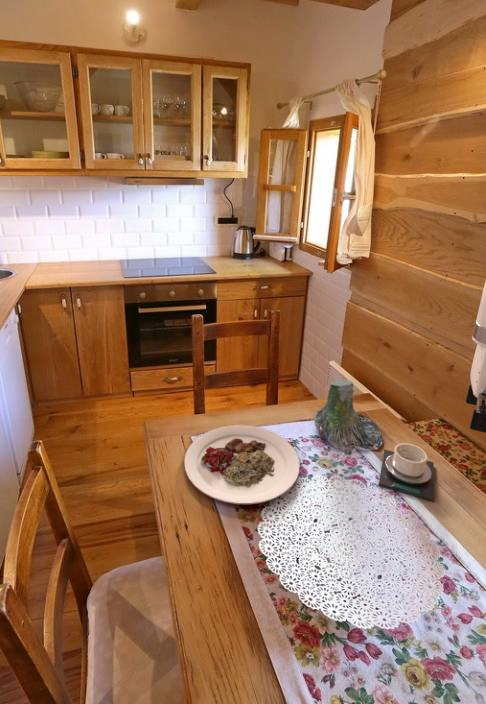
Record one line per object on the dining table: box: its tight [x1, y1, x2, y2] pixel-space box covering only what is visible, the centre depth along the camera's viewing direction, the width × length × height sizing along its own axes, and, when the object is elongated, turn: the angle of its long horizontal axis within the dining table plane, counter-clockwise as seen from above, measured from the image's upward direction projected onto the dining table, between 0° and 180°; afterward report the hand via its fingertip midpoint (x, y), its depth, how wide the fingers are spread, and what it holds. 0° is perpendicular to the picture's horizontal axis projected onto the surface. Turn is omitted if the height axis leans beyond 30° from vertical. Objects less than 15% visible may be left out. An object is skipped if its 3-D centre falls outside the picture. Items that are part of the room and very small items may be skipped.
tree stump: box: [313, 379, 384, 454], centre depth 119 cm, size 18×20×18 cm
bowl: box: [392, 442, 428, 476], centre depth 100 cm, size 7×7×4 cm
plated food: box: [183, 424, 300, 505], centre depth 107 cm, size 30×30×3 cm
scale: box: [378, 448, 435, 503], centre depth 102 cm, size 12×14×2 cm
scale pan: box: [386, 454, 431, 484], centre depth 101 cm, size 10×10×2 cm
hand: (476, 416), depth 78 cm, fingers open, 9 cm apart
